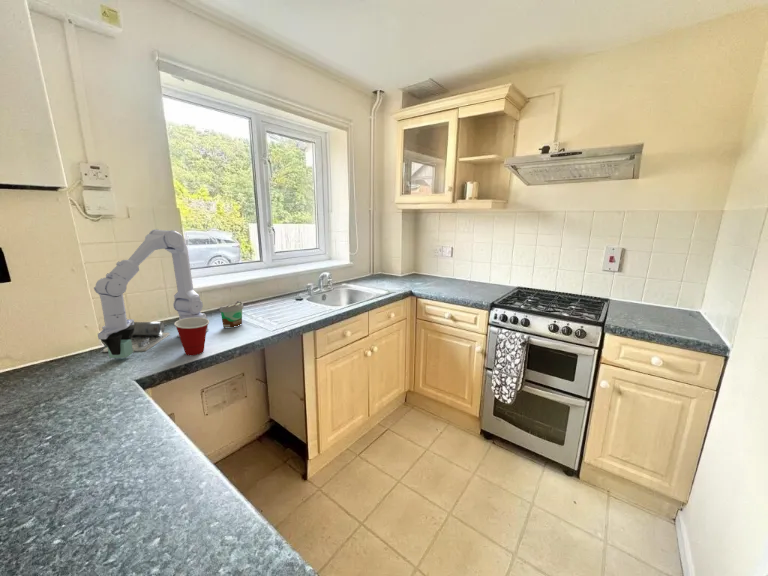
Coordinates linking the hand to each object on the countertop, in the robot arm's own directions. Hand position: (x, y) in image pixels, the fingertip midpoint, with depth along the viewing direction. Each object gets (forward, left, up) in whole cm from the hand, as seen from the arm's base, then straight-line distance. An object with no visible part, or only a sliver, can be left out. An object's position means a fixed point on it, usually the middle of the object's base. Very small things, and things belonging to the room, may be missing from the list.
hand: (120, 351), depth 108 cm
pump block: (0, 0, -1) cm, 1 cm away
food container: (-27, -34, -3) cm, 43 cm away
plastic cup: (-22, -4, -3) cm, 23 cm away
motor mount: (+3, -15, -3) cm, 15 cm away
